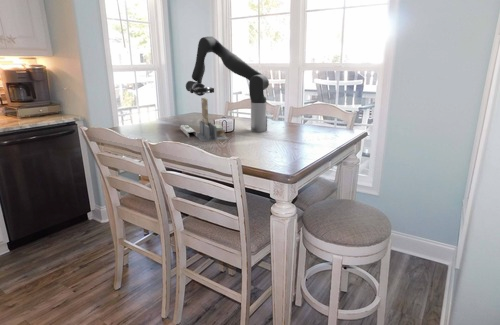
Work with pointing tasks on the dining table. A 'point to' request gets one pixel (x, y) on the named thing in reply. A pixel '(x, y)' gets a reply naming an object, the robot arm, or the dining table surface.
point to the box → (187, 130)
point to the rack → (209, 132)
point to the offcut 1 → (219, 127)
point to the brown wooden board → (204, 111)
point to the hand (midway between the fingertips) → (204, 91)
